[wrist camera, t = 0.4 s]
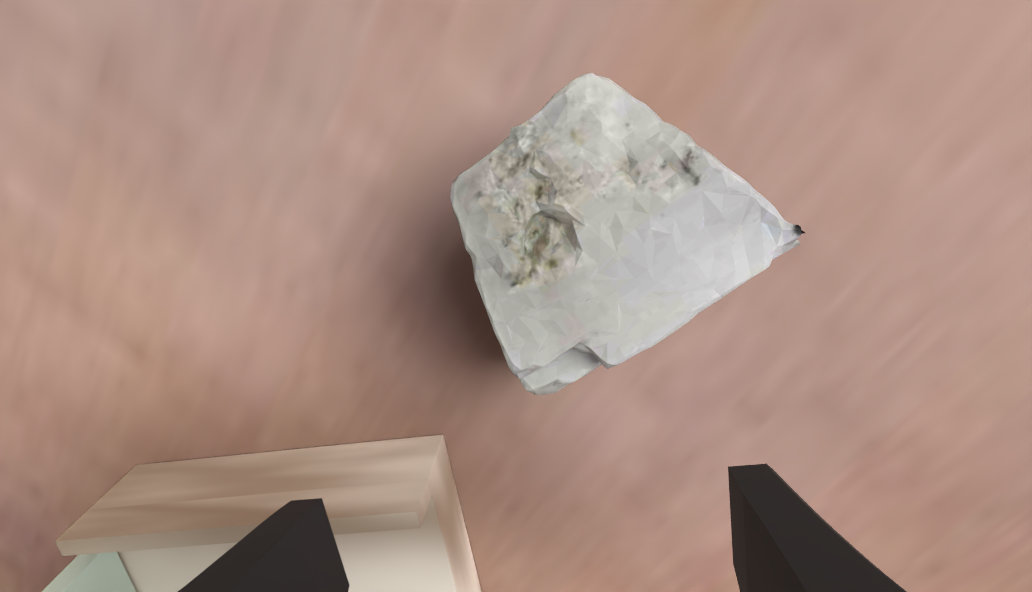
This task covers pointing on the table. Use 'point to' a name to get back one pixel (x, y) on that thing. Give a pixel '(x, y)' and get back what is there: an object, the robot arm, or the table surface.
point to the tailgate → (93, 575)
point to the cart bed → (269, 486)
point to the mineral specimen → (605, 233)
